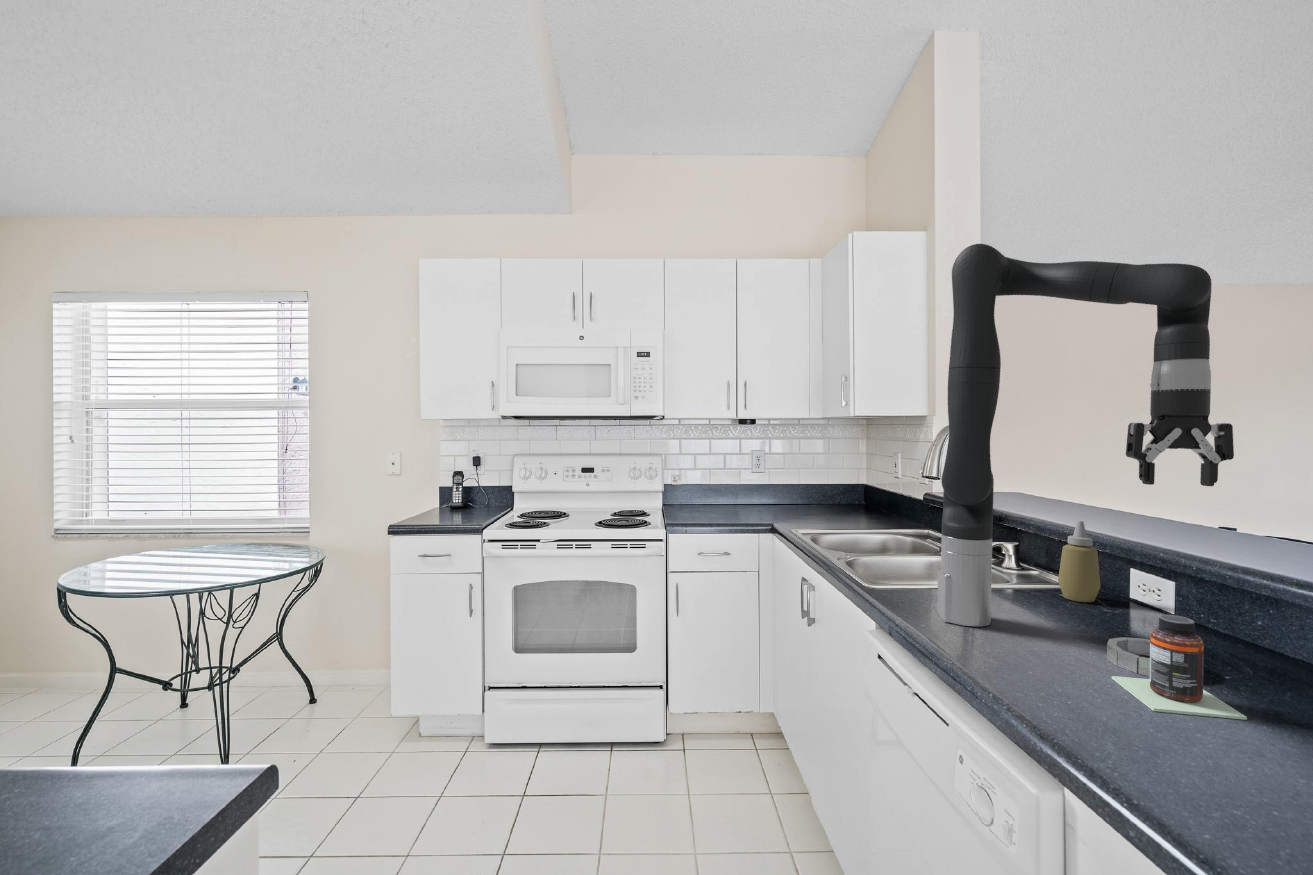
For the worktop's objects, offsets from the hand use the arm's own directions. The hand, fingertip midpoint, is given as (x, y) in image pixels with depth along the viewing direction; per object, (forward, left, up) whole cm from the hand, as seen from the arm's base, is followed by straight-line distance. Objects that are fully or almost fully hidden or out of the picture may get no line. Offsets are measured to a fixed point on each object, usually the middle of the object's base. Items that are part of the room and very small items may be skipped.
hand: (1177, 485), depth 100 cm
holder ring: (-4, -2, -30) cm, 30 cm away
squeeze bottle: (+2, +38, -30) cm, 49 cm away
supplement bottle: (-8, -15, -30) cm, 34 cm away
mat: (-8, -15, -30) cm, 35 cm away
